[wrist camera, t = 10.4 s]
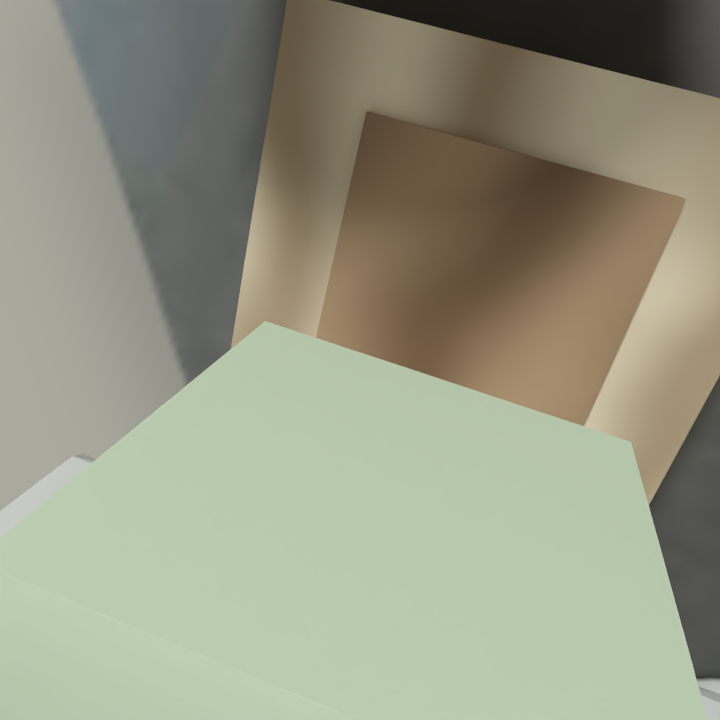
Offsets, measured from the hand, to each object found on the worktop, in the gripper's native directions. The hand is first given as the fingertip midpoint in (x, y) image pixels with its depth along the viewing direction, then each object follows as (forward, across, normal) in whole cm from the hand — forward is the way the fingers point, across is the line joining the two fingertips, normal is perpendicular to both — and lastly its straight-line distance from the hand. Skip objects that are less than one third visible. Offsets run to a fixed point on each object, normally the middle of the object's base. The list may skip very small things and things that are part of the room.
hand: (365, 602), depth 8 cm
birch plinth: (+18, 0, 0) cm, 18 cm away
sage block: (+2, 0, 0) cm, 2 cm away
